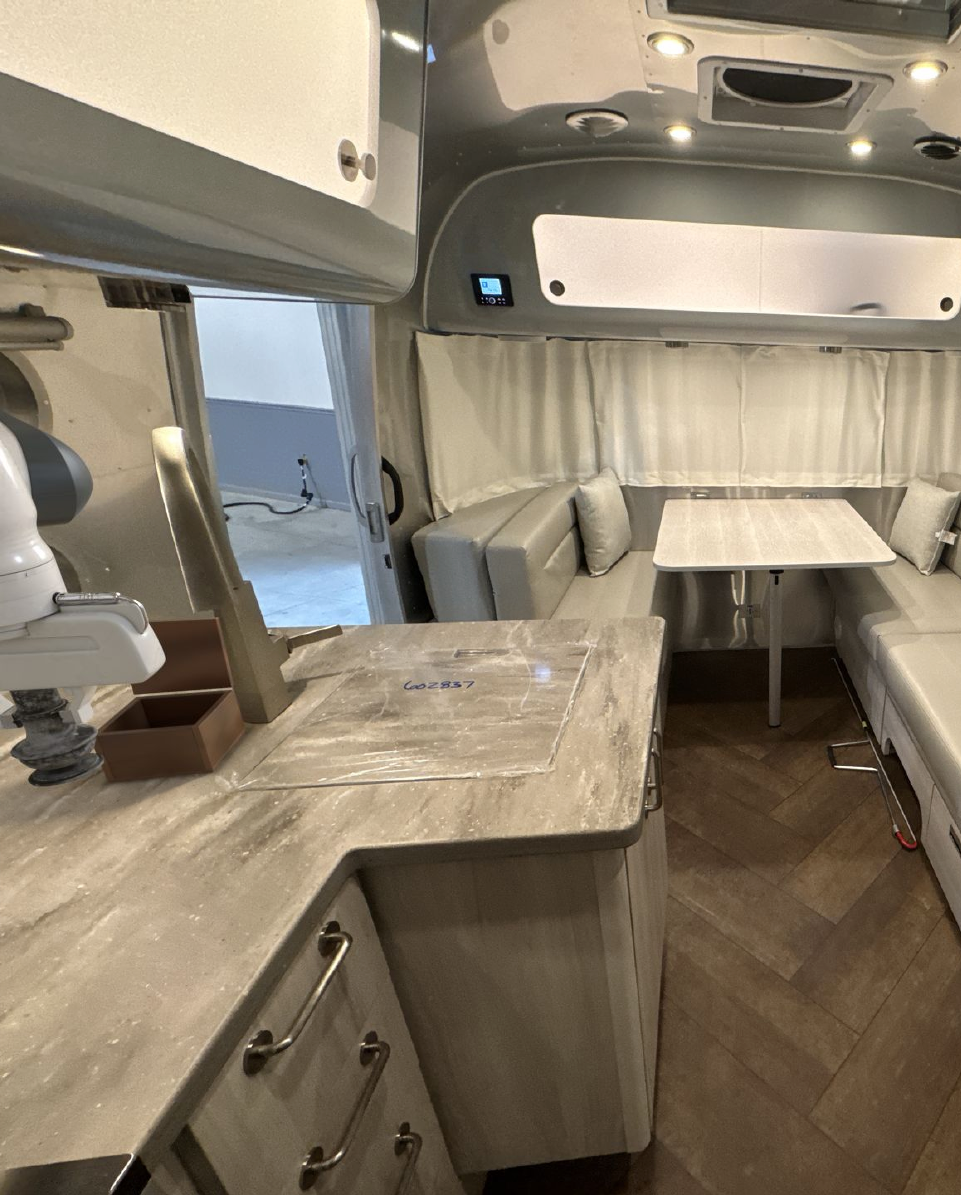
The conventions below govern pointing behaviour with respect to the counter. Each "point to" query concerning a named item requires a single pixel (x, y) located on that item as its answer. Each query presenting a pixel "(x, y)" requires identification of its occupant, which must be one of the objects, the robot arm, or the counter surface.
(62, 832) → the counter surface
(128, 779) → the bread box
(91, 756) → the grey tiered ornament
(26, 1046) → the counter surface
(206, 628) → the lid
